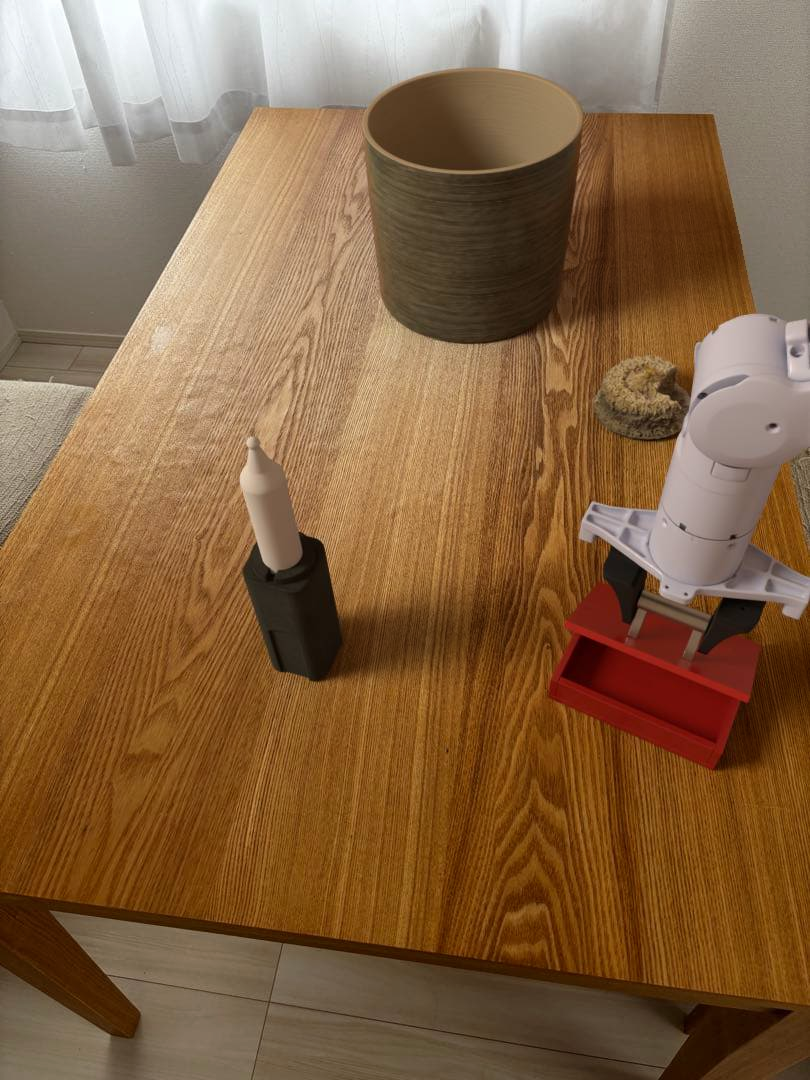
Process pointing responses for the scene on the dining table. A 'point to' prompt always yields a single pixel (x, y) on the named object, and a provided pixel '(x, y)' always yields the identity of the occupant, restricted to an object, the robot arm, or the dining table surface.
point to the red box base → (644, 700)
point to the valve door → (668, 639)
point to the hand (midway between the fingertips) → (667, 627)
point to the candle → (287, 575)
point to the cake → (642, 399)
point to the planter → (472, 199)
